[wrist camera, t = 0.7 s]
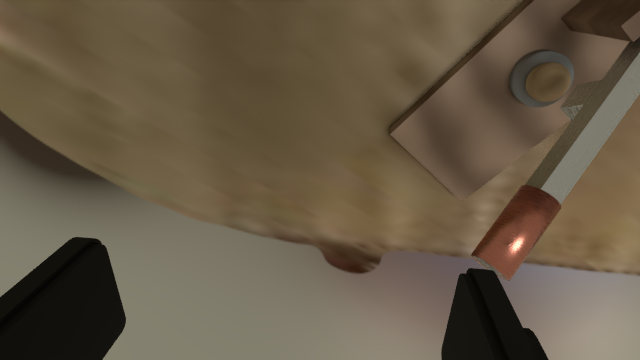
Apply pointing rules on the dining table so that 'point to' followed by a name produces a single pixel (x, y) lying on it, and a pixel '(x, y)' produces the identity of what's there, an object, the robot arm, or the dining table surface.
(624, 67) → the lever
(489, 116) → the base
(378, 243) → the dining table surface
